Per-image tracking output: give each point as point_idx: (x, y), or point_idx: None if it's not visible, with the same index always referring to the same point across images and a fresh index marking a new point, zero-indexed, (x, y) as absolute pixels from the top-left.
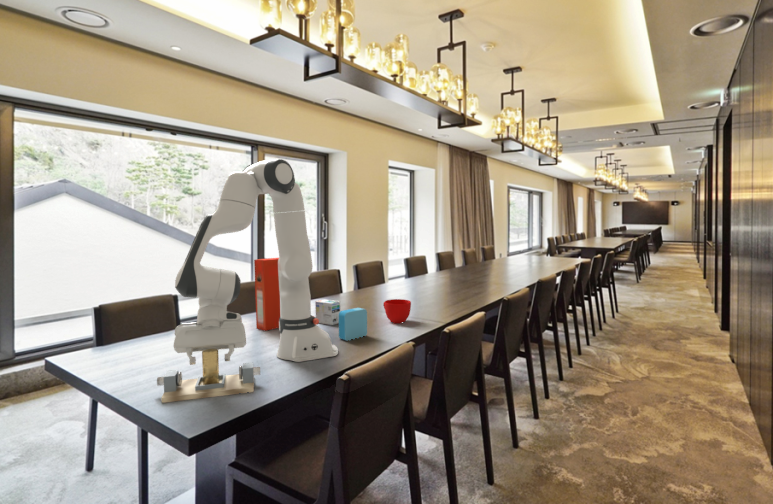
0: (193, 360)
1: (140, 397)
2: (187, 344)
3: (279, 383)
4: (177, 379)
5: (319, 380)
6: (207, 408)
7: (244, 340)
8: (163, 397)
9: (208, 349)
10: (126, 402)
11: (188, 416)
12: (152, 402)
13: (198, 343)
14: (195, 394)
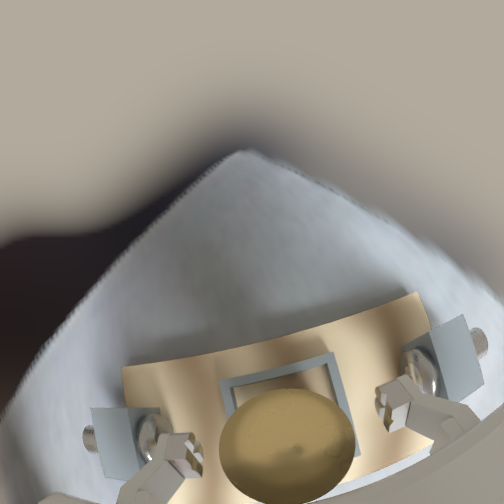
0: (389, 387)
1: (483, 330)
2: (495, 427)
3: (74, 417)
4: (416, 348)
5: (12, 398)
6: (245, 260)
7: (46, 497)
8: (412, 293)
9: (318, 489)
10: (491, 296)
11: (281, 217)
12: (436, 300)
13: (420, 479)
14: (317, 327)
